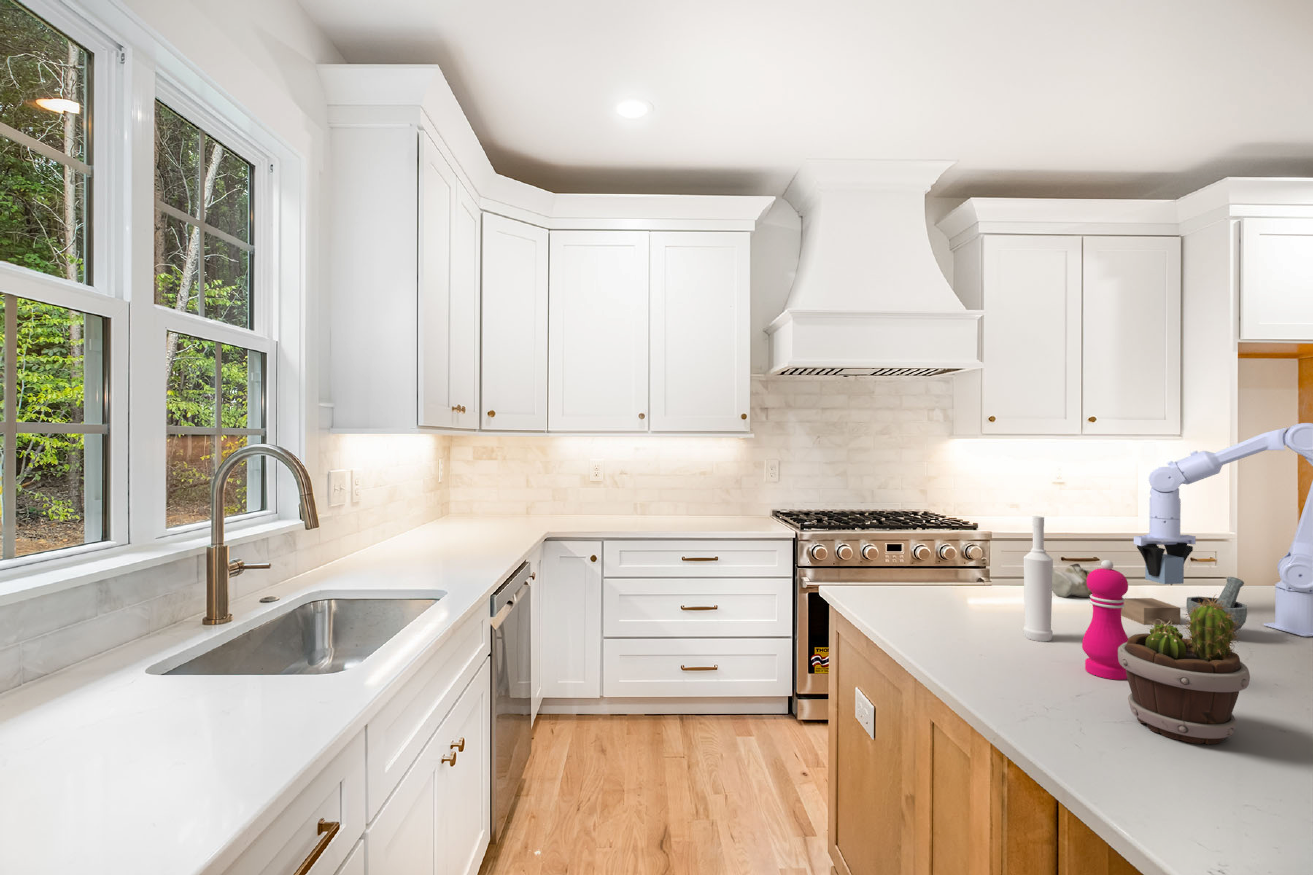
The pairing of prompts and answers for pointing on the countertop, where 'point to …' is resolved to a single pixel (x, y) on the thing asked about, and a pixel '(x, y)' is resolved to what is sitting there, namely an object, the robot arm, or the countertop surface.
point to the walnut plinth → (1150, 611)
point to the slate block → (1169, 570)
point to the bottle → (1038, 587)
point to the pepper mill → (1105, 622)
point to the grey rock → (1071, 582)
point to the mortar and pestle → (1226, 602)
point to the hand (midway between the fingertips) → (1164, 575)
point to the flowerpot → (1186, 676)
